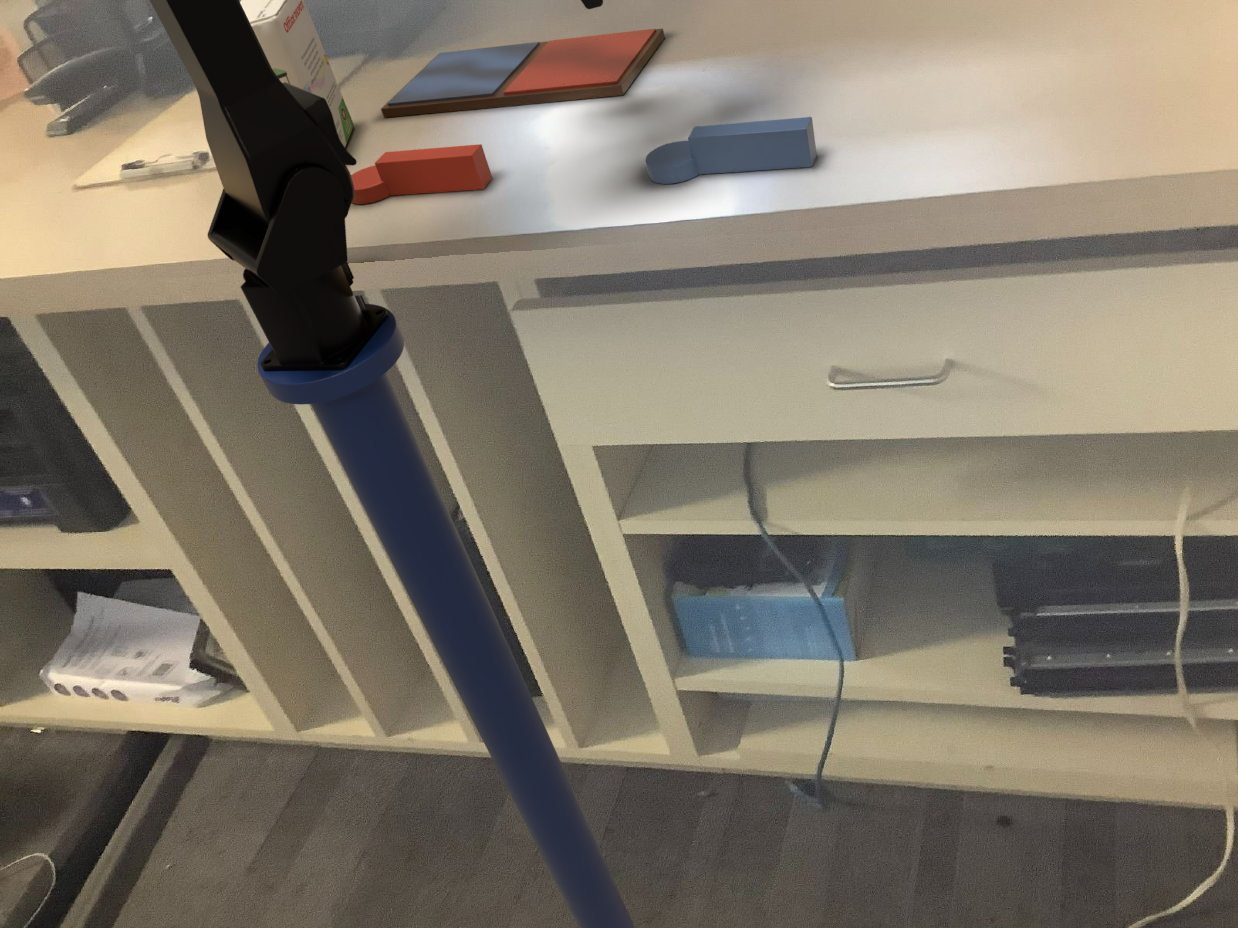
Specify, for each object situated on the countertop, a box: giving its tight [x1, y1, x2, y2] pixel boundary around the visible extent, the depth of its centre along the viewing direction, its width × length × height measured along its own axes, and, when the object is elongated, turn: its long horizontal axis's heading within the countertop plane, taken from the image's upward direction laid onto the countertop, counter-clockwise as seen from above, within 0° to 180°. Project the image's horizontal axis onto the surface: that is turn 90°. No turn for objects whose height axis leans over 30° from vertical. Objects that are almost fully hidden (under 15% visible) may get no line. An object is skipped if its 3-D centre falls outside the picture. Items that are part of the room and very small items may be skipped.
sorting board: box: [380, 28, 665, 118], centre depth 97 cm, size 12×22×1 cm, turn 75°
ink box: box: [239, 0, 355, 148], centre depth 90 cm, size 8×5×12 cm, turn 4°
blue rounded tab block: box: [644, 116, 818, 185], centre depth 76 cm, size 12×4×3 cm, turn 75°
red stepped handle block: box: [350, 143, 493, 205], centre depth 83 cm, size 12×4×3 cm, turn 75°
